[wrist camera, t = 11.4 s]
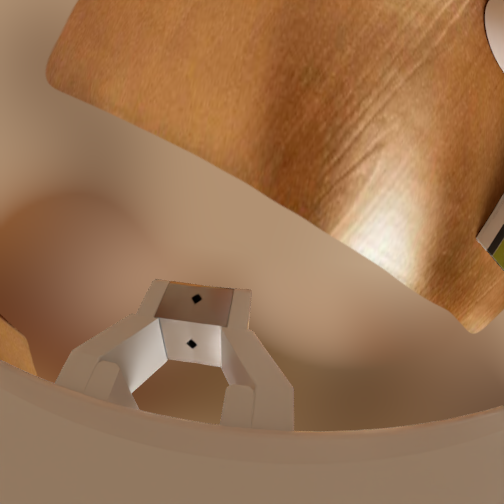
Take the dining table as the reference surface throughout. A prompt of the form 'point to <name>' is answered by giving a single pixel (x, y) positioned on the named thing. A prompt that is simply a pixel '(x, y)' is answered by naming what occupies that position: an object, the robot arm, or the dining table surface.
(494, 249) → the tea box
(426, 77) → the dining table surface
